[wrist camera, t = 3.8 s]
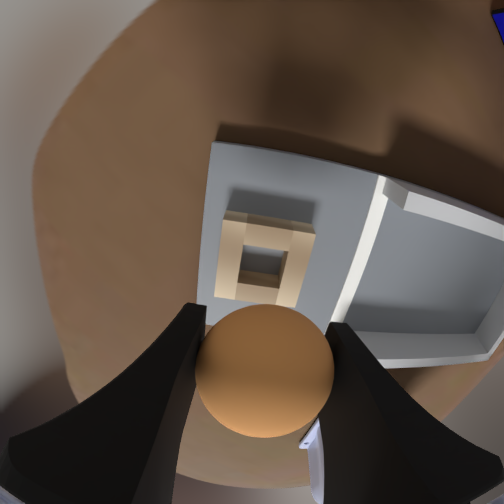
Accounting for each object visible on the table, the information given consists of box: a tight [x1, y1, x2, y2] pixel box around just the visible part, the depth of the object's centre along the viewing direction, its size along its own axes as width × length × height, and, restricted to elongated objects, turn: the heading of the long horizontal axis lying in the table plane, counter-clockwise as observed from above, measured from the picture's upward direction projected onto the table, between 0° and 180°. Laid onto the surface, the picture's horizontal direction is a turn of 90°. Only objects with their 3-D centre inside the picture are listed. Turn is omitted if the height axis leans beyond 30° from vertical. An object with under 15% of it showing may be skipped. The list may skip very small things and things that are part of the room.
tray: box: [197, 141, 504, 368], centre depth 14 cm, size 10×22×3 cm, turn 81°
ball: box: [195, 304, 334, 438], centre depth 8 cm, size 4×4×4 cm
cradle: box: [214, 210, 316, 308], centre depth 13 cm, size 4×4×1 cm
